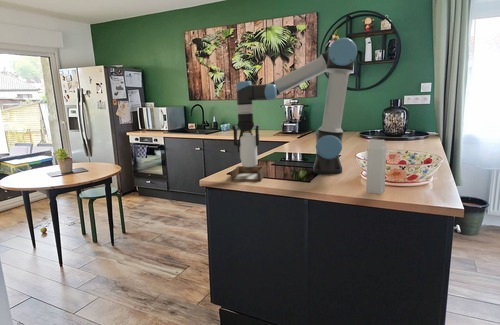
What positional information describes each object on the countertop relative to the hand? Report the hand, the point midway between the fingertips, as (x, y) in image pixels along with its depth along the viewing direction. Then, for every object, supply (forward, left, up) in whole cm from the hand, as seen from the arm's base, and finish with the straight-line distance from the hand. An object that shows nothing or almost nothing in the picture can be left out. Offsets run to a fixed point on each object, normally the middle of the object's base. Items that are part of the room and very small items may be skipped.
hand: (247, 158), depth 161 cm
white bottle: (-1, 0, -4) cm, 4 cm away
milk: (-59, +19, -10) cm, 63 cm away
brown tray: (0, -1, -10) cm, 10 cm away
